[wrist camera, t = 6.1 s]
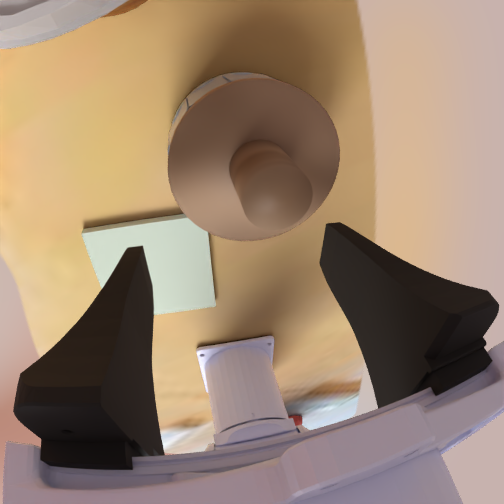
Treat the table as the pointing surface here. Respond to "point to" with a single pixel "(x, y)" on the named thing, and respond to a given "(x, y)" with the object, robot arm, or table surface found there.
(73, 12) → the disposable coffee cup
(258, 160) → the lid
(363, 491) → the robot arm
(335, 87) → the table surface
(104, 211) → the table surface
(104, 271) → the mat
